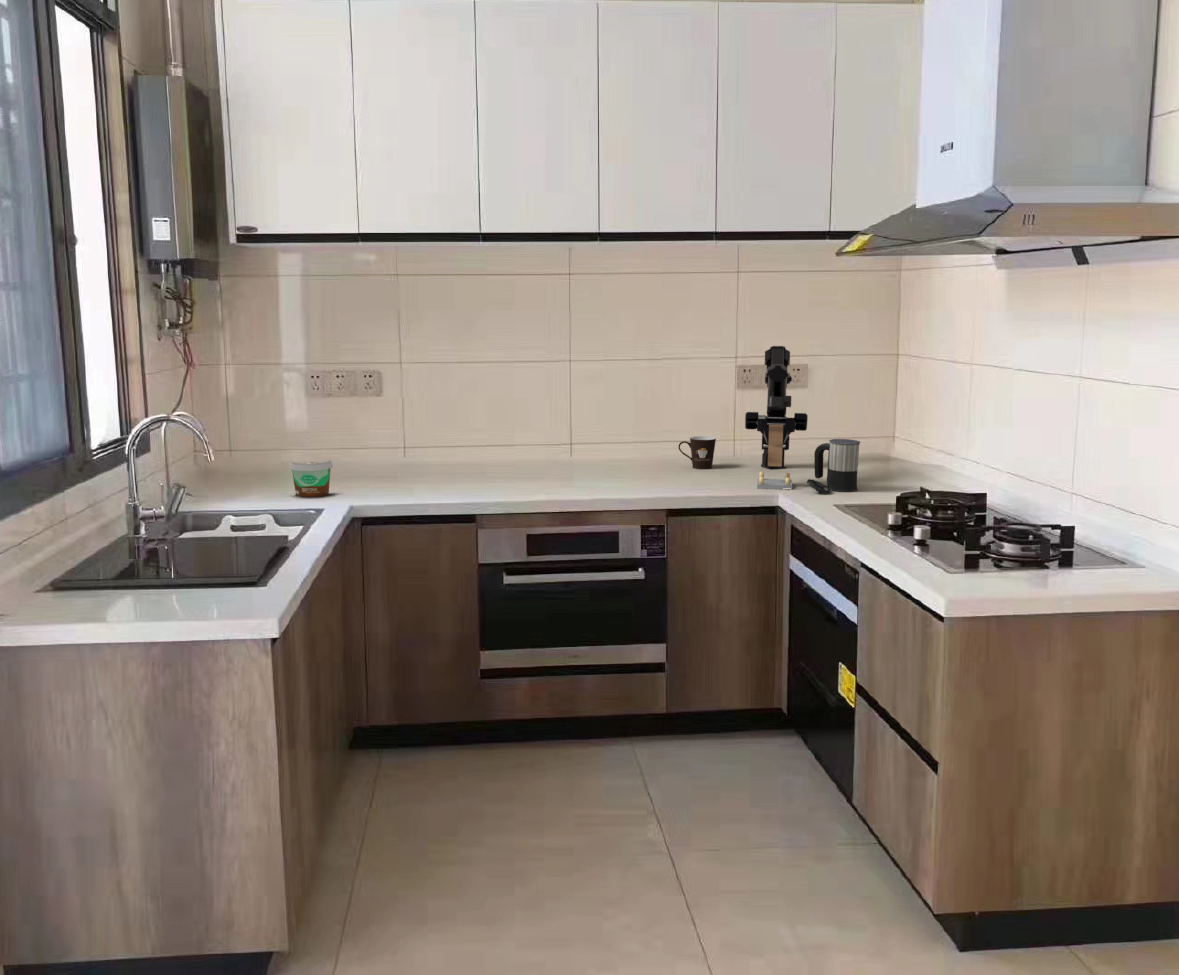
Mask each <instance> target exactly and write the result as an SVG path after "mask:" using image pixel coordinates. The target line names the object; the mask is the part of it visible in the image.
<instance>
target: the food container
mask: <svg viewBox="0 0 1179 975" xmlns="http://www.w3.org/2000/svg"><path fill="white" fill-rule="evenodd" d="M333 467H334V464H333V461H332V459H330V460H327V461H324V462H323V461H322V462H312V461H311V462H310V461H309V462H304V463H301V462H300V463H299V462H293V461H290V463H289V469H290V470H291V472H292V479H293V486H294V491H295V492H294V494H295V496H296V497H298V498H307V499H309V498H310V499H311V498H313V499H314V498H321V497H326V496H329V495H330V494H329V493H330V482H331V481H330V480H331V469H332V468H333Z"/></svg>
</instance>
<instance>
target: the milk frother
mask: <svg viewBox="0 0 1179 975" xmlns="http://www.w3.org/2000/svg"><path fill="white" fill-rule="evenodd" d="M860 444H861V441H860V440H856V439H849V438H831V439H829V440H828V442H825V443H824V442H823V443H822V444H819V445H818V446H816V448H815V450H814V456H813V457H814V458H813V459H814V477H815V479H821V478H823V476H824V452H825V451H828V456H827V457H828V458H827V473H826V474H827V475H826V484H824V483H822V482H820V481H817V480H814V479H807V480H806V484H807V485H808V486H809V487H810V488H812V489H813V490H815V491H816V492H818V494H822V493H825V494H827V493H831V491H835V492H843V493H845V492H846V493H849V492H850V493H851V492H856V491H858V468H859V453H860Z"/></svg>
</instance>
